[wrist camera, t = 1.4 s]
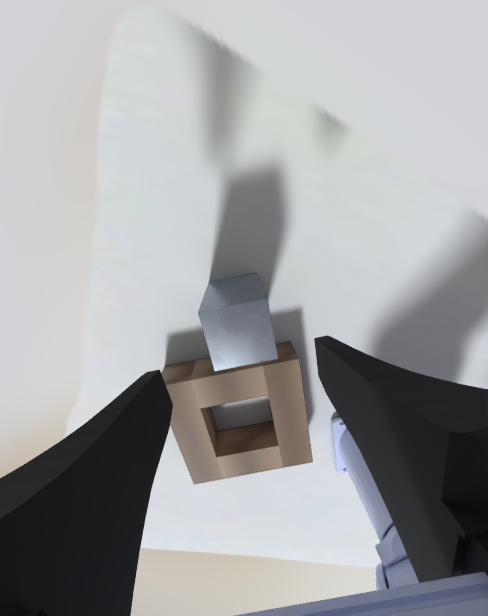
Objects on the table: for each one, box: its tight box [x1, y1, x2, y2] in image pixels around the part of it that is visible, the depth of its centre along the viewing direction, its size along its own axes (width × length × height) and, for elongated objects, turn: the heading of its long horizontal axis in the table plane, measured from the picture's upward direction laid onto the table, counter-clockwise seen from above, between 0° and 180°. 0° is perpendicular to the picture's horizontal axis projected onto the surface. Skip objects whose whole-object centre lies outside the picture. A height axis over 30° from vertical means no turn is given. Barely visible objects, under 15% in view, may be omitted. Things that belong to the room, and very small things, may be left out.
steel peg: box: [198, 273, 278, 371], centre depth 18 cm, size 4×4×7 cm
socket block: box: [161, 342, 313, 484], centre depth 23 cm, size 12×12×3 cm
